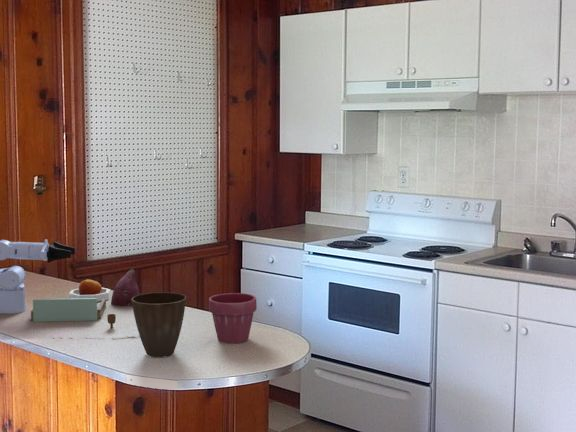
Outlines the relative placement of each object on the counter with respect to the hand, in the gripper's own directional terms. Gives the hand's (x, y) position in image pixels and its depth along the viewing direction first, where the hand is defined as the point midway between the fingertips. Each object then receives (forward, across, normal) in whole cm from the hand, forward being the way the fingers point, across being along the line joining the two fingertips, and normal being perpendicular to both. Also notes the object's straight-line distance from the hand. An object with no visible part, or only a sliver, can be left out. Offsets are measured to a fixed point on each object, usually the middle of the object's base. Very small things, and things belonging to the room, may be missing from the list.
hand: (73, 252), depth 263 cm
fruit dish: (+3, +23, +20) cm, 31 cm away
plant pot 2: (+53, -36, +19) cm, 67 cm away
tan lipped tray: (0, -5, +21) cm, 21 cm away
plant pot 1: (+32, -48, +20) cm, 62 cm away
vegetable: (+17, +9, +20) cm, 28 cm away
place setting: (+27, -20, +20) cm, 39 cm away
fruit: (+3, +23, +20) cm, 31 cm away
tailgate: (+1, -13, +20) cm, 24 cm away
